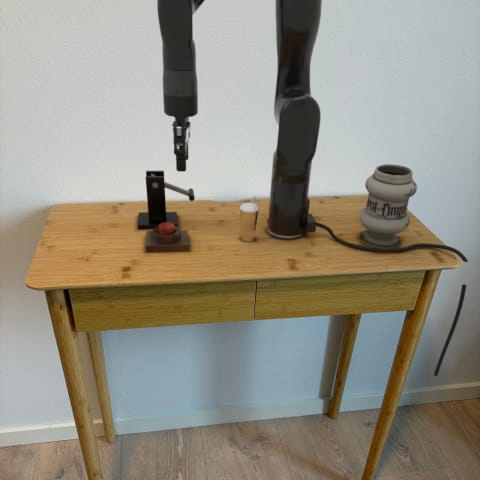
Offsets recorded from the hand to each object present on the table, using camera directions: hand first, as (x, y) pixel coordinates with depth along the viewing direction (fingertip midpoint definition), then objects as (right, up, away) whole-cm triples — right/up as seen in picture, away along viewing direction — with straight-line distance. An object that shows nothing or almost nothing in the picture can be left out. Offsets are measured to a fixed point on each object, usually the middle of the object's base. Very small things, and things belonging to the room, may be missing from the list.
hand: (182, 165), depth 117 cm
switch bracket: (-8, -11, +11) cm, 18 cm away
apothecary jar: (+49, -17, +7) cm, 52 cm away
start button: (-4, -16, 0) cm, 16 cm away
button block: (-4, -19, +1) cm, 19 cm away
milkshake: (+16, -17, +6) cm, 24 cm away
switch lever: (-4, -5, +7) cm, 9 cm away
